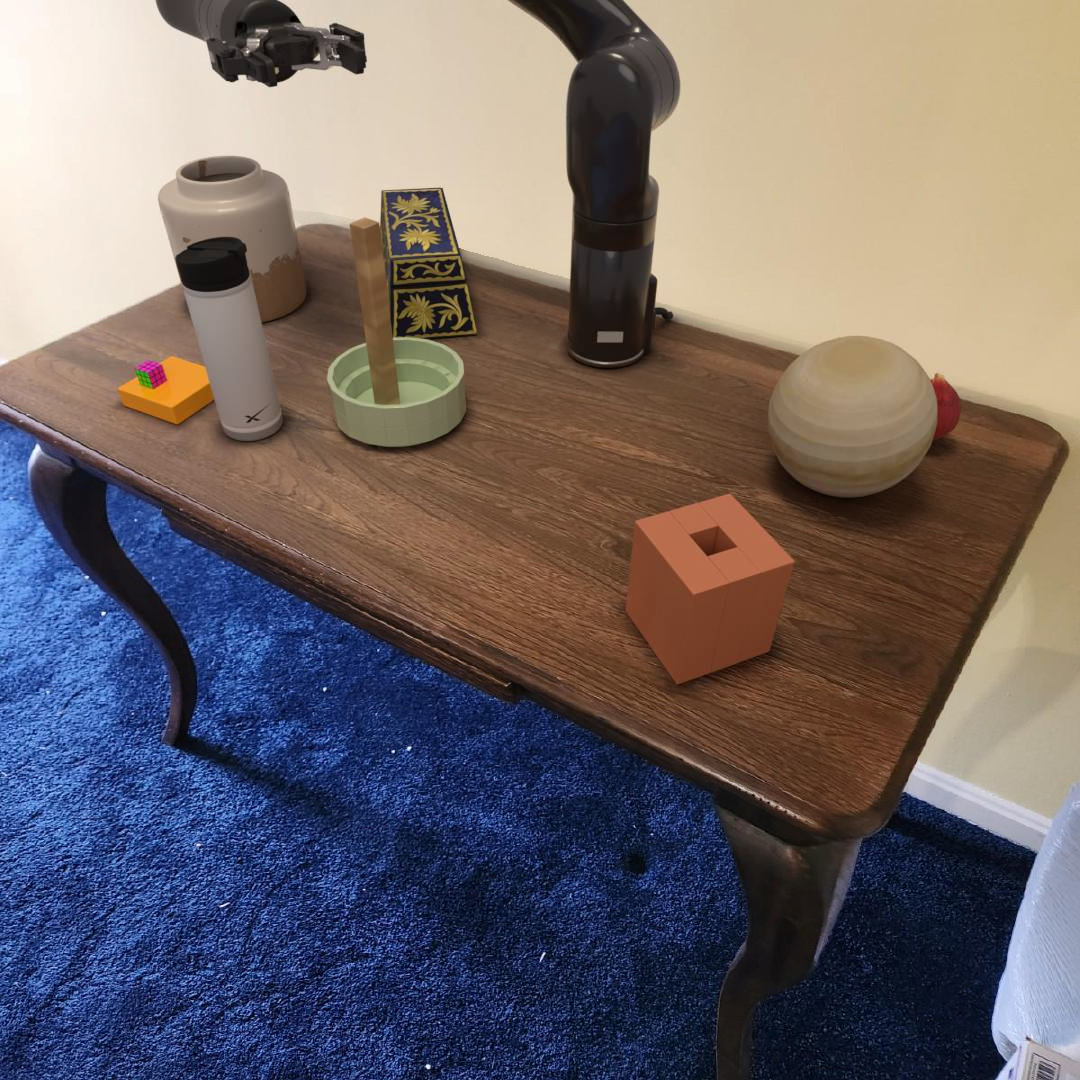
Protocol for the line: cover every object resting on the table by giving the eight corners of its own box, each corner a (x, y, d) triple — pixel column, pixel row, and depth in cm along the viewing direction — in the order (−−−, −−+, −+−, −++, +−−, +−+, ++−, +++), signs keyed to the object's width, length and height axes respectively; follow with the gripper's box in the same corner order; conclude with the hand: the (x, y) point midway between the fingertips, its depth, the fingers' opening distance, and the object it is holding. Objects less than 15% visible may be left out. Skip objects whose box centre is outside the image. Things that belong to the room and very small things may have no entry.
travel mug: (271, 446, 89) (226, 261, 76) (212, 438, 90) (158, 254, 77) (296, 413, 94) (257, 233, 80) (239, 406, 95) (192, 227, 81)
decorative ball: (943, 504, 83) (1000, 368, 73) (818, 547, 78) (861, 408, 68) (841, 424, 93) (878, 295, 83) (725, 458, 88) (750, 325, 78)
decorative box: (390, 342, 105) (382, 272, 99) (379, 243, 127) (372, 181, 121) (477, 335, 107) (474, 266, 101) (452, 239, 129) (448, 177, 123)
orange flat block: (176, 372, 100) (166, 339, 97) (229, 389, 97) (220, 356, 94) (123, 405, 94) (110, 372, 92) (177, 425, 92) (166, 391, 89)
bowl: (442, 370, 101) (438, 327, 97) (485, 434, 91) (483, 389, 87) (321, 395, 96) (313, 352, 93) (353, 465, 87) (346, 420, 83)
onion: (950, 433, 92) (976, 367, 87) (944, 462, 88) (971, 395, 83) (894, 420, 94) (916, 355, 88) (886, 448, 90) (908, 381, 85)
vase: (300, 324, 109) (275, 190, 97) (176, 329, 107) (136, 193, 96) (312, 272, 120) (290, 146, 109) (200, 275, 119) (166, 149, 108)
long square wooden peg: (400, 403, 94) (379, 222, 81) (387, 411, 93) (363, 228, 79) (387, 397, 95) (364, 216, 81) (374, 404, 94) (349, 223, 80)
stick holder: (712, 582, 75) (730, 492, 68) (769, 651, 69) (795, 561, 62) (624, 610, 72) (634, 520, 65) (676, 685, 66) (693, 594, 60)
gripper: (176, -2, 83) (231, 30, 73) (314, -16, 89) (383, 12, 79) (196, 83, 88) (250, 124, 78) (325, 64, 94) (391, 100, 84)
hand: (317, 68), depth 79 cm, fingers open, 8 cm apart
